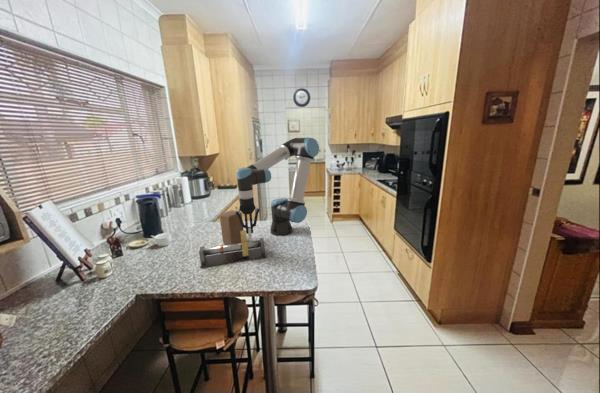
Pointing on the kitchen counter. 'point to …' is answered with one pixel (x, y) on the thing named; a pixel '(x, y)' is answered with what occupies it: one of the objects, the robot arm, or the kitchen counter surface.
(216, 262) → the pipe rig
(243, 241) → the collar
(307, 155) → the robot arm
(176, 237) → the kitchen counter surface
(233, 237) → the wooden block
